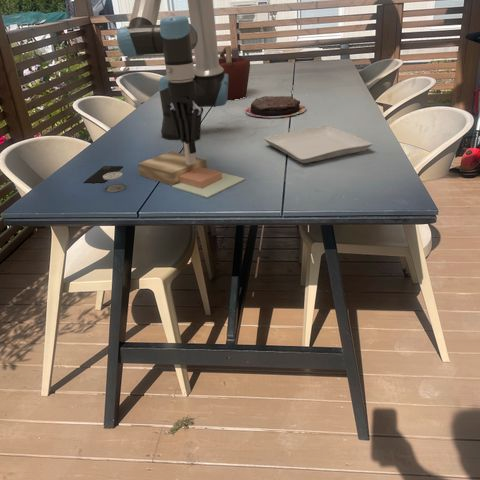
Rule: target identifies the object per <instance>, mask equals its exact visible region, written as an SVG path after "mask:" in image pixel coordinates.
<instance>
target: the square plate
mask: <svg viewBox="0 0 480 480" xmlns="http://www.w3.org/2000/svg"><path fill="white" fill-rule="evenodd" d="M263 140H264V141H265V142H266V143H268V145H269V146H271V147H273V148H275V149H277V150H279V151H280V152H282V153H284V154H286V155H287V156H289V157H290V158H292V159H294V160H295V161H298V162H299V163H302V164H308V163H314V162H318V161H323V160H329V159H332V158H337V157H342V156H346V155H350V154H355V153H360V152H363V151H365V150H367V149H369V148H370V147H371V146H373V143H372V142H370V141H368V140H365V139H363V138H360V137H359V136H356V135H354V134H352V133H349V132H347V131H343V130H341V129H338V128H334V127H332V126H330V125H325V126H319V127H318V126H317V127H311V128H305V129H298V130H293V131H290V132H288V131H287V132H284V133H280V134H275V135H271V136H265V137H263Z"/></svg>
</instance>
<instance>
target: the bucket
mask: <svg viewBox="0 0 480 480" xmlns="http://www.w3.org/2000/svg"><path fill="white" fill-rule="evenodd" d="M232 53H233V52H232V48H231V46H224V48H223V50H222V51H221V52H220V53H219V58H218V59H219V65H220V66H221V67H222V68H223V69H224V74H225V73H226V74H228V95H227V100H231V101H236V100H235V99H239V100H241V99H240V98H242V99H244V98H243V97H245V98H246V97H247V92H248V86H249V85H248V84H249V77H250V70H251V59H249V58H247V57H232Z"/></svg>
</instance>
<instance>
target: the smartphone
mask: <svg viewBox="0 0 480 480" xmlns="http://www.w3.org/2000/svg"><path fill="white" fill-rule="evenodd" d="M123 168H124V166H123V165H122V166H121V165H119V166H118V165H108V166H107V165H103V166H102V167H101V168H99V169H98V170H97V171H96V172H95V173H93V174H92V175H91V176H89V177H88V178H87V179H86V180H84V181H83V184H85V183H92V184H95V183H104V184H105V182H106V183H107V182H108V181H109V180H104V179H103V175H105V174H107V173H111V172H120V171H121V170H122V169H123Z"/></svg>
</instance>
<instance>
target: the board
mask: <svg viewBox="0 0 480 480" xmlns="http://www.w3.org/2000/svg"><path fill="white" fill-rule="evenodd" d="M195 157H196V163H193V164H191V165H188V164H186V159H185V153H181V152H178V151H177V152H176V151H172V150H171V151H169V152H168V151H167V152H166V153H163V154H161V155H158V156H154V157H152V158H149V159H146V160H144V161H141V162H139V163H137V165H138V171H139V172H138V173H139V176H141V177H144V178H146V179H150V180H153V181H157V182H159V183H163V184H166V185H170V186H171V187H172V186H173V185H175V184H178V183H180V182H179V176H180V175H183V174H185V173H187V172H189V171H192V170H194V169H196V168H199V167H202V168H206V169H208V167H207V159H206V158H201V157H198V156H195Z"/></svg>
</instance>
